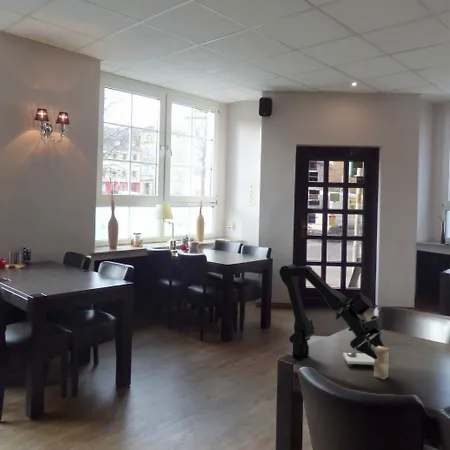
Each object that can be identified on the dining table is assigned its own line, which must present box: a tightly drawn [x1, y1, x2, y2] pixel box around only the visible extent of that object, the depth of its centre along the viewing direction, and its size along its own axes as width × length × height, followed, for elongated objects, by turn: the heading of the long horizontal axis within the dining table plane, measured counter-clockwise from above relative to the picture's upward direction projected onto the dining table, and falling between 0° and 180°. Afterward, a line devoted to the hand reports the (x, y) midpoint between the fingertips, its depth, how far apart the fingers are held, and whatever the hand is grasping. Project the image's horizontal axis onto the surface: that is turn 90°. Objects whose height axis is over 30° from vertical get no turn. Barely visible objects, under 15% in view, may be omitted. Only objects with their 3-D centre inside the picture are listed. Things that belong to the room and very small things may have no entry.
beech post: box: [373, 346, 390, 380], centre depth 173 cm, size 4×4×11 cm
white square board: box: [342, 352, 374, 369], centre depth 186 cm, size 12×10×3 cm
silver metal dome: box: [346, 351, 356, 357], centre depth 188 cm, size 4×4×1 cm
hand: (381, 355), depth 173 cm, fingers open, 9 cm apart
